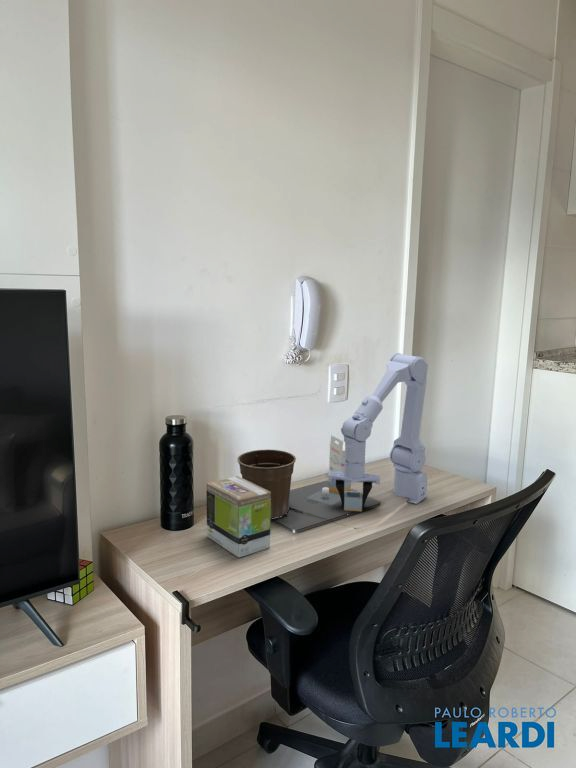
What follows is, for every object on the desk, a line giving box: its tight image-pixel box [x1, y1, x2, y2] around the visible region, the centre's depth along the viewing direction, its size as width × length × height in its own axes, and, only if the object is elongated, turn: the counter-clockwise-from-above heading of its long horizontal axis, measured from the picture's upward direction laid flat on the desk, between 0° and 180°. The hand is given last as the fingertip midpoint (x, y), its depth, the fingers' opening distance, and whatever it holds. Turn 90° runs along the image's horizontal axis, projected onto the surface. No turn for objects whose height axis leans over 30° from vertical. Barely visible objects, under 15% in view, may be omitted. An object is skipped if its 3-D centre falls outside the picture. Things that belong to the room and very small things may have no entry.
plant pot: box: [237, 449, 297, 521], centre depth 163 cm, size 16×16×16 cm
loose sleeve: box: [343, 491, 363, 512], centre depth 165 cm, size 5×5×5 cm
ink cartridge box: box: [328, 435, 345, 474], centre depth 190 cm, size 9×5×15 cm, turn 25°
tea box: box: [206, 475, 271, 558], centre depth 144 cm, size 15×10×15 cm, turn 38°
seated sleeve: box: [327, 471, 352, 494], centre depth 178 cm, size 5×5×5 cm
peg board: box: [306, 486, 359, 506], centre depth 175 cm, size 9×15×4 cm, turn 144°
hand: (352, 505), depth 166 cm, fingers closed on loose sleeve, 5 cm apart
